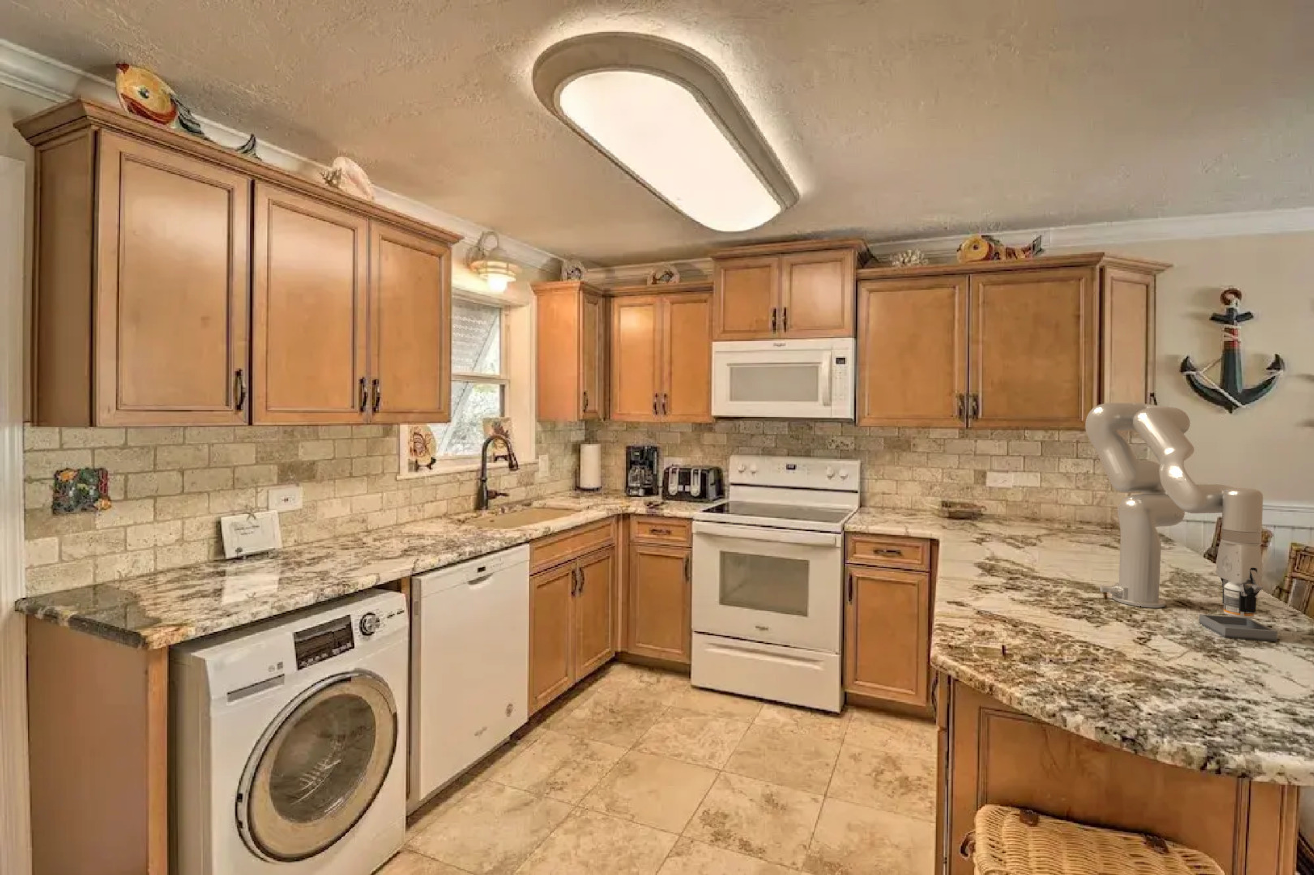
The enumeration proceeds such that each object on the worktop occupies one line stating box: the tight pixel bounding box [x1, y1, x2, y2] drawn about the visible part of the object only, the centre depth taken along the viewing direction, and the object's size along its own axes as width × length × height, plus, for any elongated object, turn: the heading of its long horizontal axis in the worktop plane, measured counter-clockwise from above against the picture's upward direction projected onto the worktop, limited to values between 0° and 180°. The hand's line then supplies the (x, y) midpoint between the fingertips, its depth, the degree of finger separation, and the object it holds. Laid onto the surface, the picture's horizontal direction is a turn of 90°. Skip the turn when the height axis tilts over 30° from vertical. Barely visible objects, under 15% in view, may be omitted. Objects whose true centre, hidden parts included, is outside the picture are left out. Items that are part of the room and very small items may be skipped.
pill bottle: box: [1223, 581, 1255, 619], centre depth 162 cm, size 6×6×10 cm
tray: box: [1198, 613, 1278, 642], centre depth 163 cm, size 11×11×2 cm
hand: (1238, 607), depth 163 cm, fingers closed on pill bottle, 5 cm apart
